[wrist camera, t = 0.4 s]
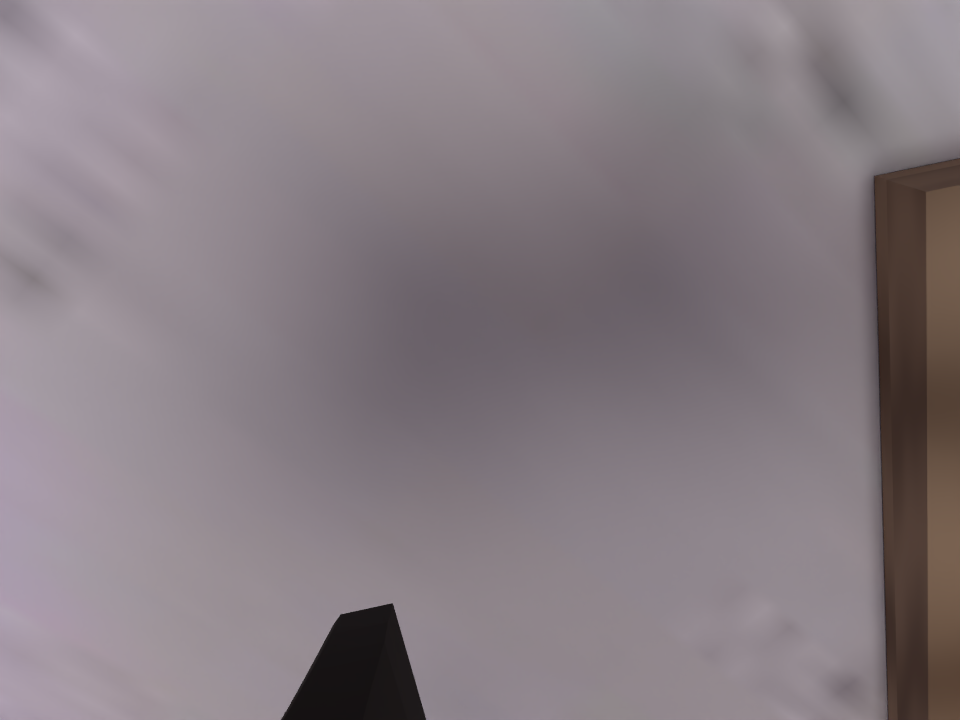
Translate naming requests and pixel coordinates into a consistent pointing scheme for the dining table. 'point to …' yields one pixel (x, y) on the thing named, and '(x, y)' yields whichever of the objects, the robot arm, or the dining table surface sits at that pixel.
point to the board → (920, 435)
